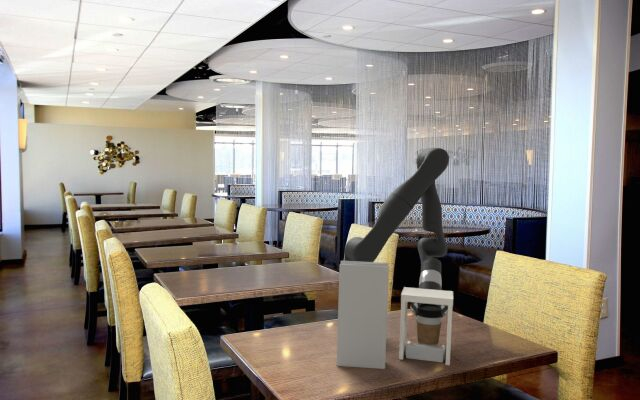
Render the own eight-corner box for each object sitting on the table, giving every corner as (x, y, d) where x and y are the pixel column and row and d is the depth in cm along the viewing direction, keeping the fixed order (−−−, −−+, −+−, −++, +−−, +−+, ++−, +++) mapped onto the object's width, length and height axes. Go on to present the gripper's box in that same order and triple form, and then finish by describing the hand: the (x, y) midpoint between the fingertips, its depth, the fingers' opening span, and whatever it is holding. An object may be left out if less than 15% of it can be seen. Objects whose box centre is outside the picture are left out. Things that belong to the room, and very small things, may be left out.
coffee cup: (442, 349, 165) (444, 304, 164) (439, 359, 157) (441, 311, 156) (416, 346, 168) (418, 301, 167) (412, 355, 160) (414, 307, 159)
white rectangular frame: (398, 359, 156) (401, 294, 155) (402, 344, 169) (404, 285, 167) (450, 365, 153) (453, 299, 151) (450, 350, 165) (452, 289, 164)
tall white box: (384, 361, 154) (388, 262, 152) (385, 368, 149) (389, 266, 146) (337, 358, 155) (340, 260, 153) (336, 365, 150) (339, 264, 148)
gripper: (410, 278, 176) (406, 324, 165) (450, 281, 173) (449, 328, 162) (411, 290, 181) (407, 335, 170) (449, 293, 178) (448, 339, 167)
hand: (427, 332), depth 166 cm, fingers closed
